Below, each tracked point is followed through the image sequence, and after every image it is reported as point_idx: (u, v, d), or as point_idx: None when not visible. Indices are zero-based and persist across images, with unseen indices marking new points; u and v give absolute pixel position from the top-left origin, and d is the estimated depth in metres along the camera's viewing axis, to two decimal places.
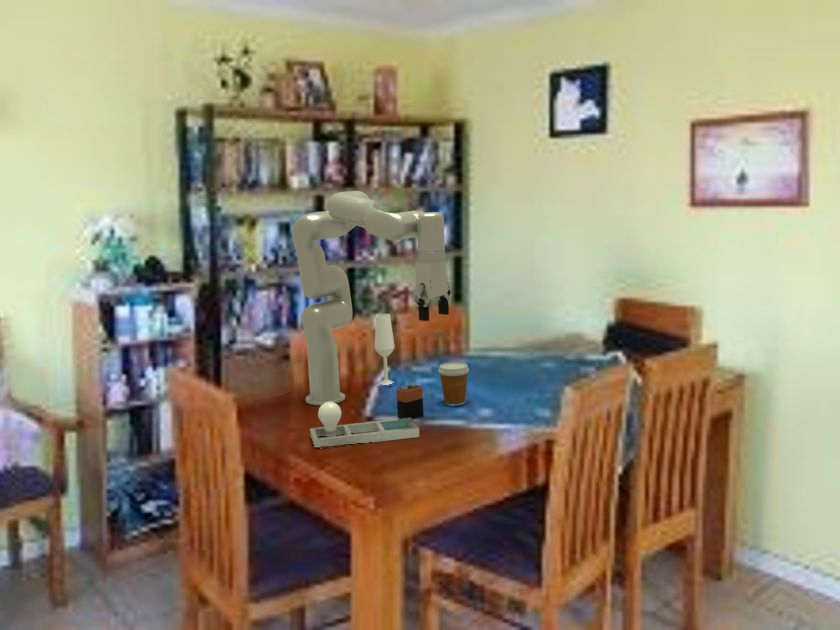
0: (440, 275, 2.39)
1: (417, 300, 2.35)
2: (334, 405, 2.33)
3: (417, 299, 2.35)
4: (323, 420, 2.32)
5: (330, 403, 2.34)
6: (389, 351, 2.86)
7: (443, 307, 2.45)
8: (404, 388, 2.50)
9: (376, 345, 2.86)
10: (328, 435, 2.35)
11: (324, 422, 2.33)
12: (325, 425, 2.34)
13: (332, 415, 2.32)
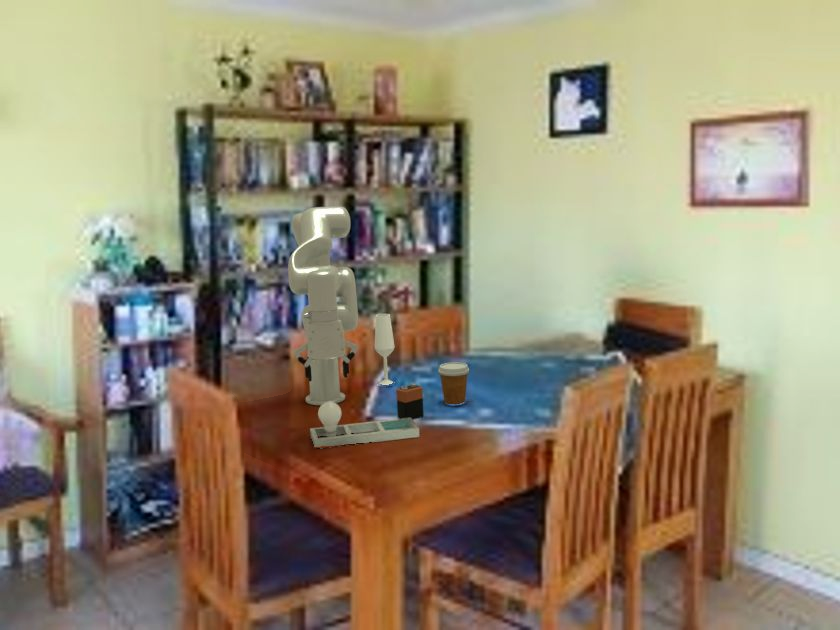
0: None
1: None
2: (334, 405, 2.33)
3: None
4: (323, 420, 2.32)
5: (330, 403, 2.34)
6: (389, 351, 2.86)
7: None
8: (404, 388, 2.50)
9: (376, 345, 2.86)
10: (328, 435, 2.35)
11: (324, 422, 2.33)
12: (325, 425, 2.34)
13: (332, 415, 2.32)
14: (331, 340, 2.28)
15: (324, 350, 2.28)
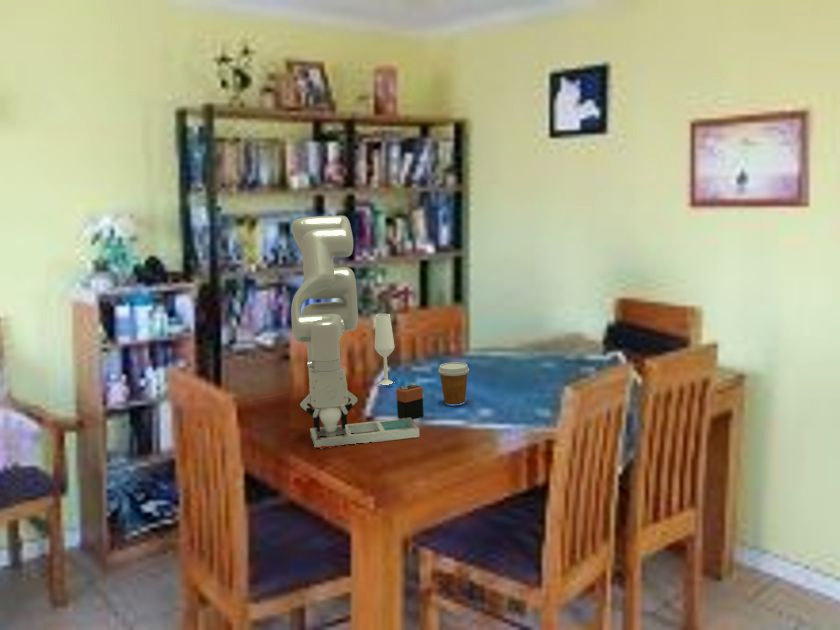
0: None
1: None
2: None
3: None
4: (323, 420, 2.32)
5: None
6: (389, 351, 2.86)
7: None
8: (404, 388, 2.50)
9: (376, 345, 2.86)
10: (328, 435, 2.35)
11: (324, 422, 2.33)
12: (325, 425, 2.34)
13: (332, 415, 2.32)
14: (334, 389, 2.31)
15: (327, 399, 2.31)
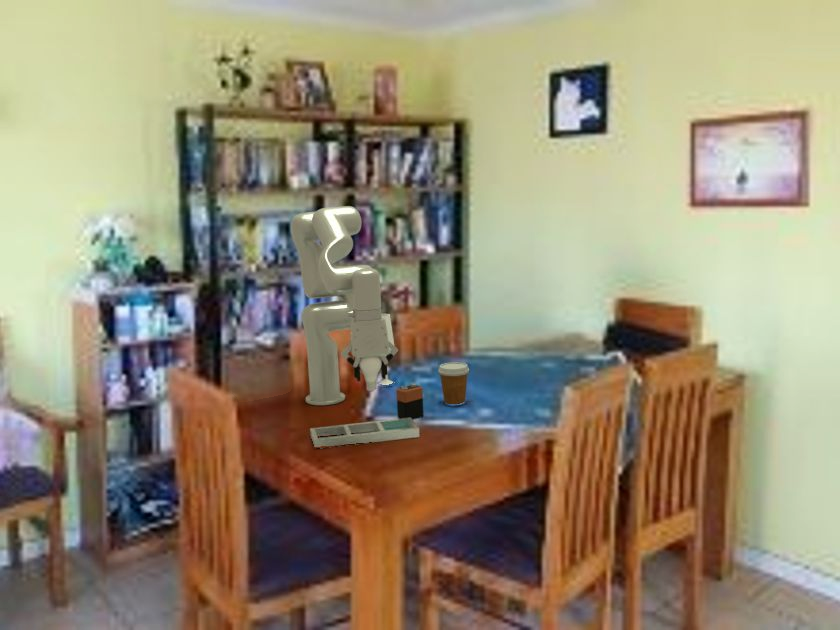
0: None
1: None
2: None
3: None
4: (363, 370, 2.32)
5: None
6: (389, 351, 2.86)
7: None
8: (404, 388, 2.50)
9: None
10: (368, 385, 2.35)
11: (364, 372, 2.33)
12: (365, 375, 2.34)
13: (373, 364, 2.32)
14: (375, 338, 2.31)
15: (368, 348, 2.31)
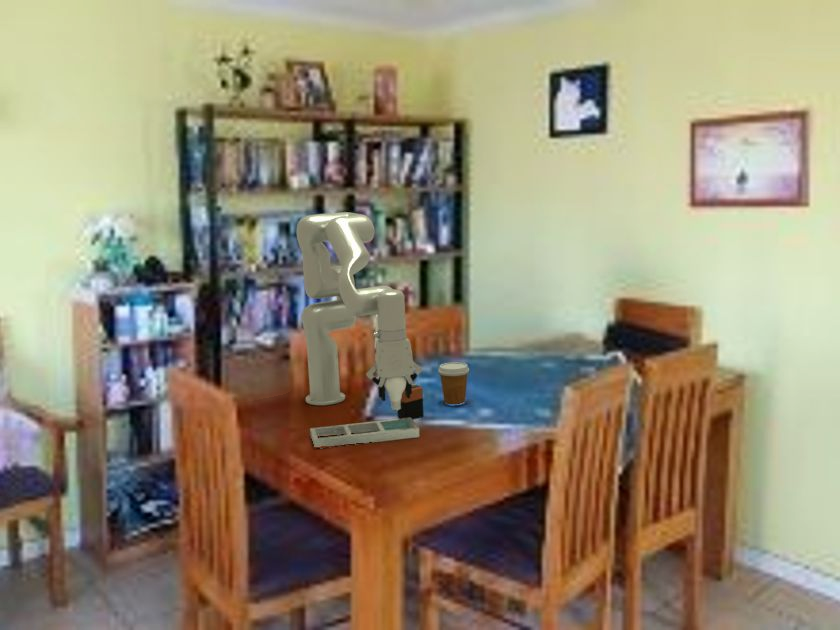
0: None
1: None
2: None
3: None
4: (389, 389, 2.35)
5: None
6: None
7: None
8: None
9: None
10: (393, 405, 2.37)
11: (390, 391, 2.35)
12: (390, 395, 2.36)
13: (398, 384, 2.34)
14: (400, 358, 2.33)
15: (393, 368, 2.33)
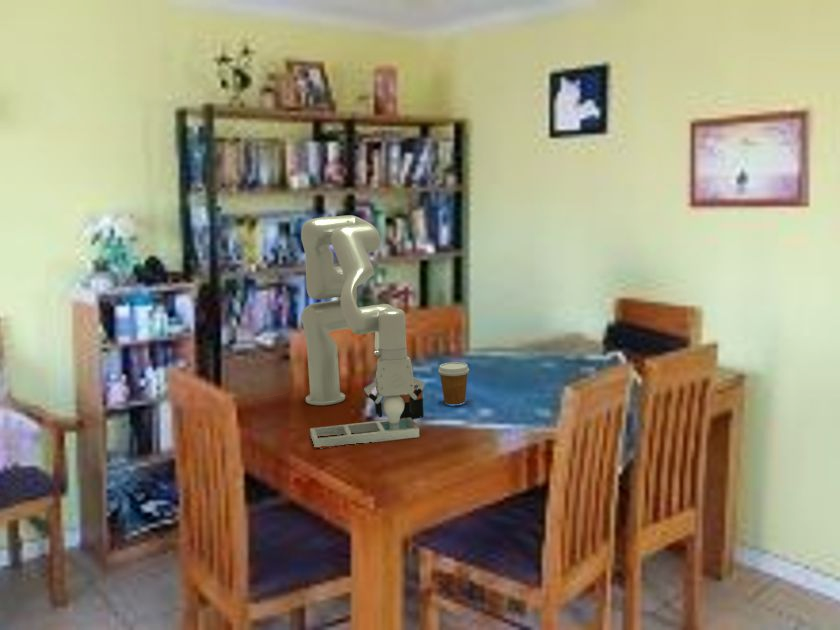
0: None
1: None
2: (398, 397, 2.37)
3: None
4: (387, 412, 2.36)
5: None
6: None
7: None
8: None
9: (376, 345, 2.86)
10: (391, 427, 2.39)
11: (388, 414, 2.37)
12: (389, 417, 2.37)
13: (396, 406, 2.36)
14: (401, 377, 2.34)
15: (394, 387, 2.35)
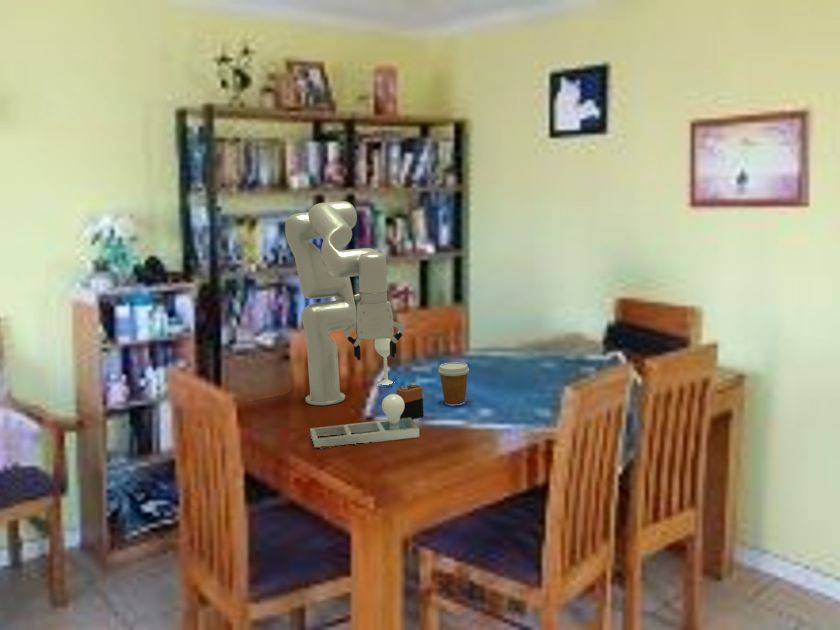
0: None
1: None
2: (398, 397, 2.37)
3: None
4: (387, 412, 2.36)
5: (394, 395, 2.37)
6: (389, 351, 2.86)
7: None
8: (404, 388, 2.50)
9: (376, 345, 2.86)
10: (391, 427, 2.39)
11: (388, 414, 2.37)
12: (389, 417, 2.37)
13: (396, 406, 2.35)
14: (381, 321, 2.35)
15: (373, 330, 2.35)
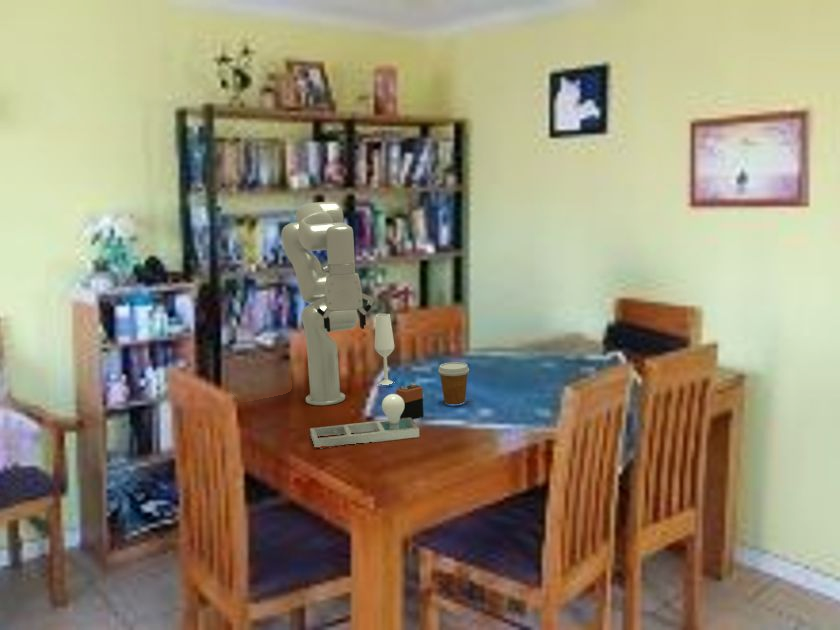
0: None
1: None
2: (398, 397, 2.37)
3: None
4: (387, 412, 2.36)
5: (394, 395, 2.37)
6: (389, 351, 2.86)
7: None
8: (404, 388, 2.50)
9: (376, 345, 2.86)
10: (391, 427, 2.39)
11: (388, 414, 2.37)
12: (389, 417, 2.37)
13: (396, 406, 2.35)
14: (349, 292, 2.39)
15: (342, 302, 2.39)
